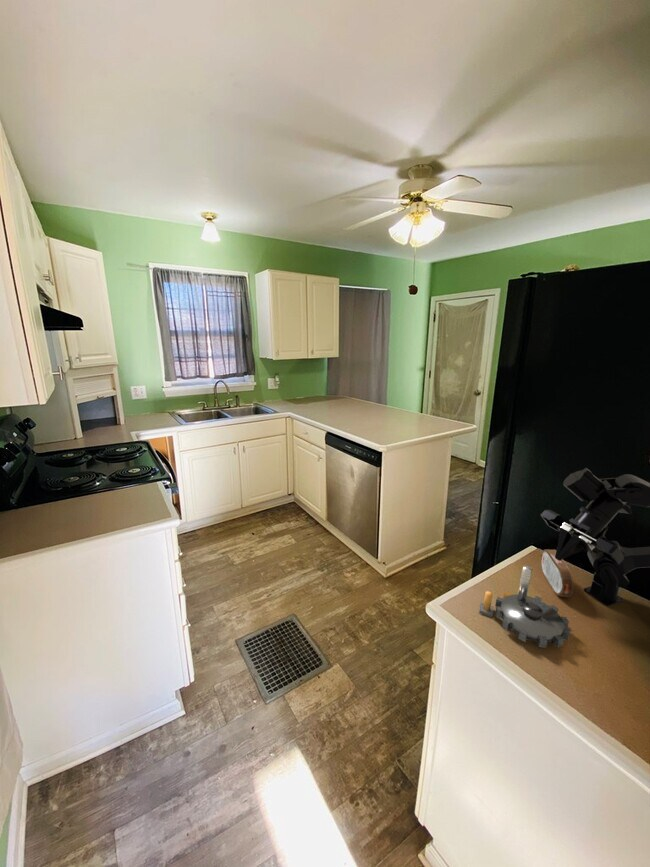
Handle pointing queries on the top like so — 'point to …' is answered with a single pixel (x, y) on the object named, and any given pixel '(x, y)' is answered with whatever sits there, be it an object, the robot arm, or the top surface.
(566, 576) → the tin
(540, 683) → the top surface
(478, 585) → the top surface
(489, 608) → the rounded peg on base
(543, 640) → the sprocket
